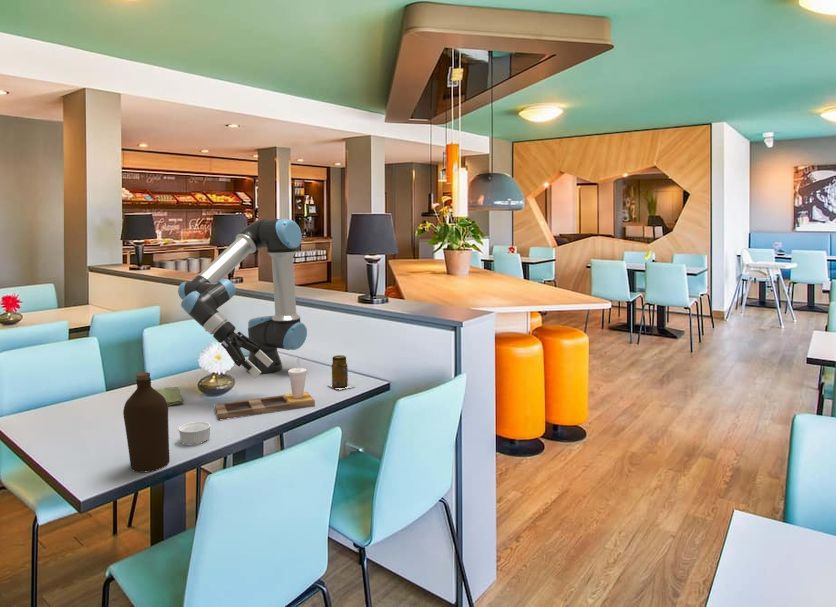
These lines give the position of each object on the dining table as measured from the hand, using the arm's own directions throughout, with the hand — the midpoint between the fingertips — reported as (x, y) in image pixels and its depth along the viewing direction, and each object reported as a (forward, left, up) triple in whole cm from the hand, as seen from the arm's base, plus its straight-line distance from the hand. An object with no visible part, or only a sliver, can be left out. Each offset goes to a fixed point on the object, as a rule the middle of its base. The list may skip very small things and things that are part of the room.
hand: (264, 369), depth 199 cm
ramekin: (+26, -25, -12) cm, 38 cm away
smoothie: (+6, +10, -10) cm, 15 cm away
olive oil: (+39, -37, -12) cm, 55 cm away
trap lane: (+6, -1, -12) cm, 13 cm away
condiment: (-6, +30, -12) cm, 33 cm away
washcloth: (-19, -33, -13) cm, 40 cm away
